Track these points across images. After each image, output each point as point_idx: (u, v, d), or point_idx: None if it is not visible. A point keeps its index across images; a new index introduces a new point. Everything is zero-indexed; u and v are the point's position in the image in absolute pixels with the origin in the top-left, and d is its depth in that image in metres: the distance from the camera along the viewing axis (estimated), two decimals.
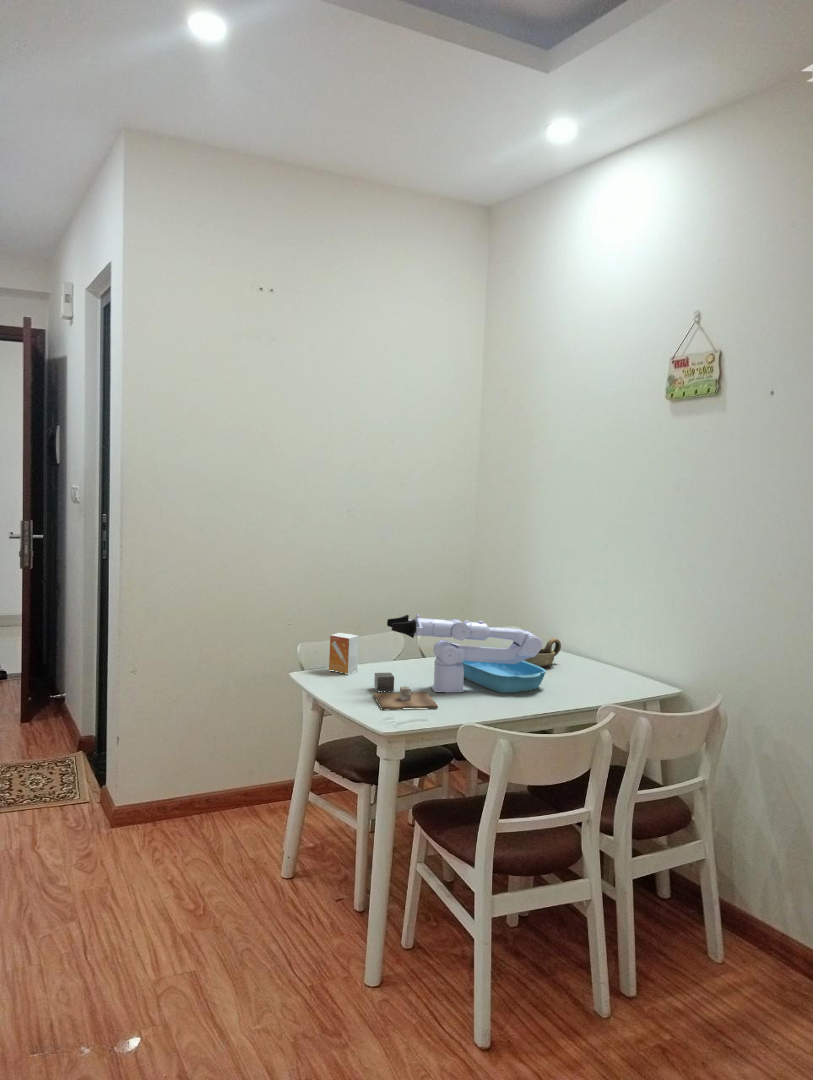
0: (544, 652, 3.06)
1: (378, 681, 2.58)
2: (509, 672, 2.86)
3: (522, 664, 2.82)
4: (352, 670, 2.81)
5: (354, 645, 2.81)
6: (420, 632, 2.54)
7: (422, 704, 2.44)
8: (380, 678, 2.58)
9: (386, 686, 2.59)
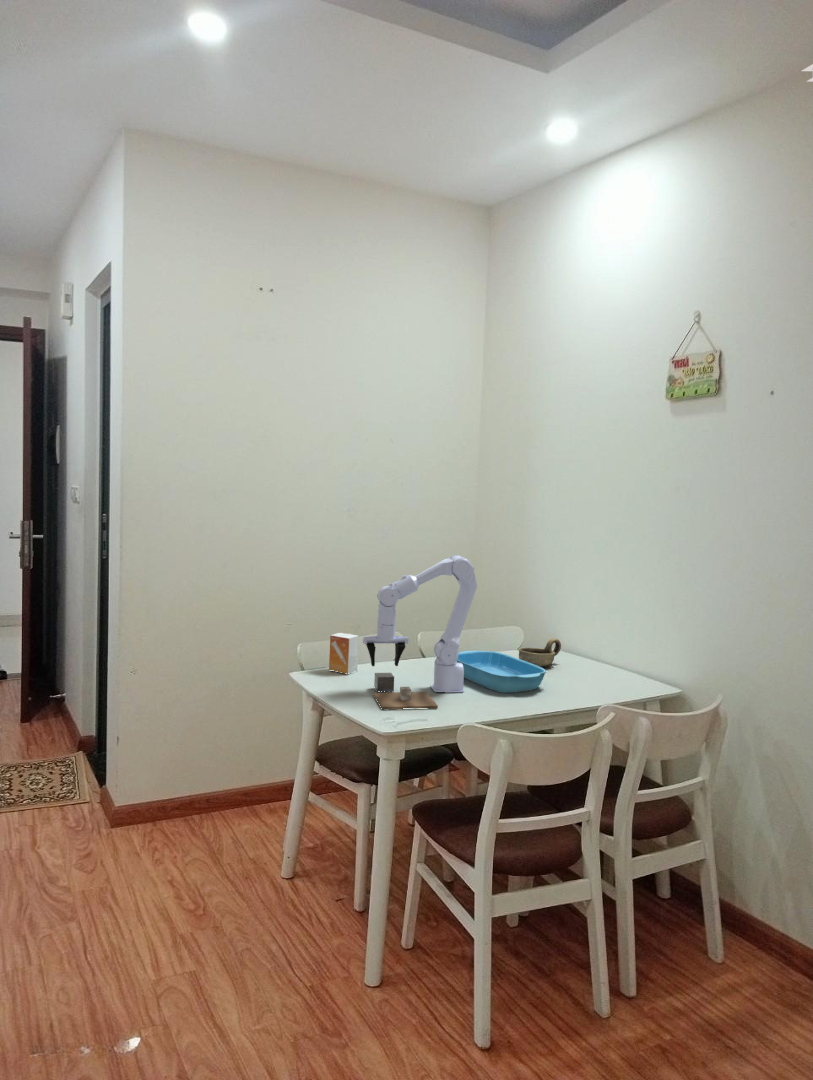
0: (544, 652, 3.06)
1: (378, 681, 2.58)
2: (509, 672, 2.86)
3: (522, 664, 2.82)
4: (352, 670, 2.81)
5: (354, 645, 2.81)
6: (363, 639, 2.58)
7: (422, 704, 2.44)
8: (380, 678, 2.58)
9: (386, 686, 2.59)
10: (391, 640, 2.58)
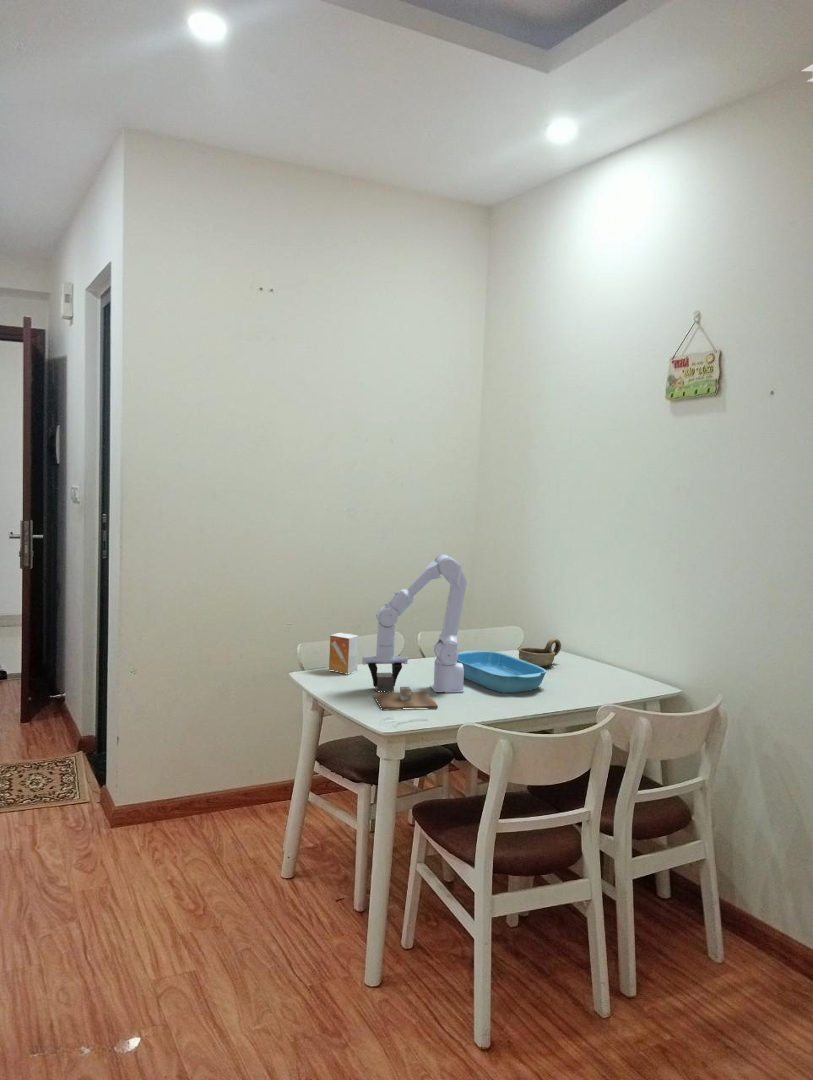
0: (544, 652, 3.06)
1: (378, 681, 2.58)
2: (509, 672, 2.86)
3: (522, 664, 2.82)
4: (352, 670, 2.81)
5: (354, 645, 2.81)
6: (363, 660, 2.59)
7: (422, 704, 2.44)
8: (380, 678, 2.58)
9: (386, 686, 2.59)
10: (390, 661, 2.58)
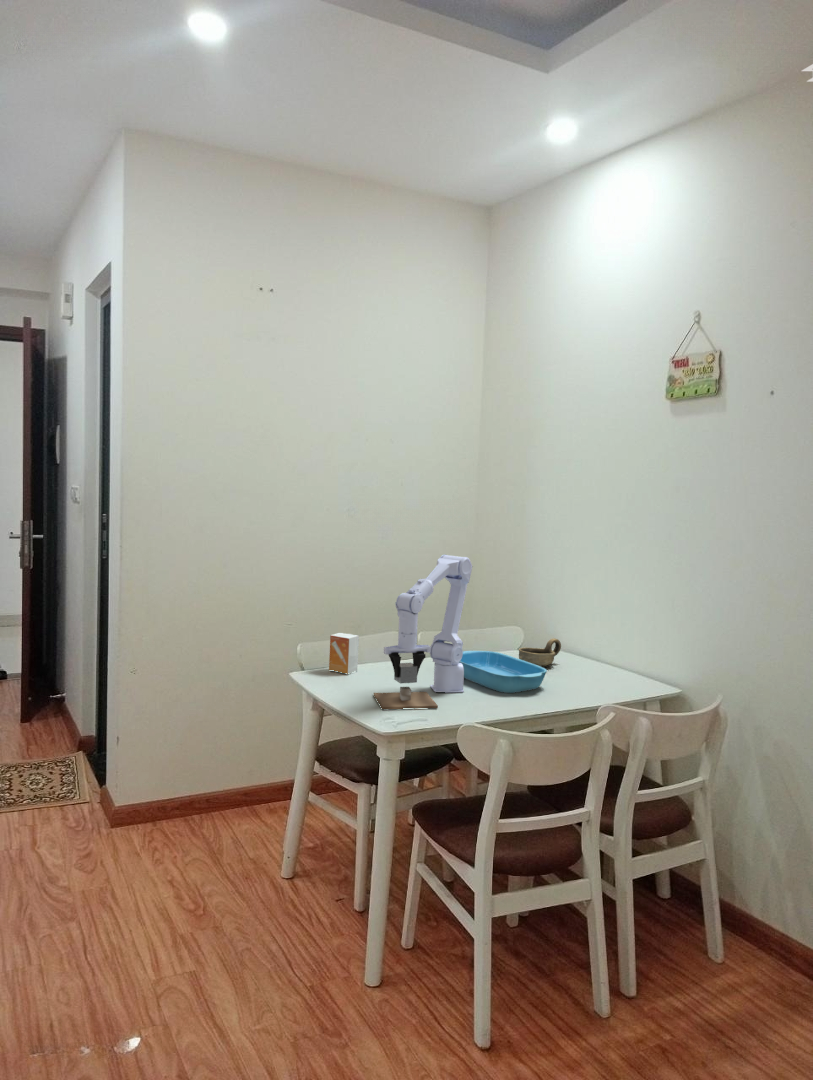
0: (544, 652, 3.06)
1: (401, 671, 2.45)
2: (508, 672, 2.86)
3: (521, 664, 2.83)
4: (352, 670, 2.81)
5: (354, 645, 2.81)
6: (385, 650, 2.44)
7: (422, 704, 2.44)
8: (403, 668, 2.45)
9: (409, 676, 2.46)
10: (414, 649, 2.45)
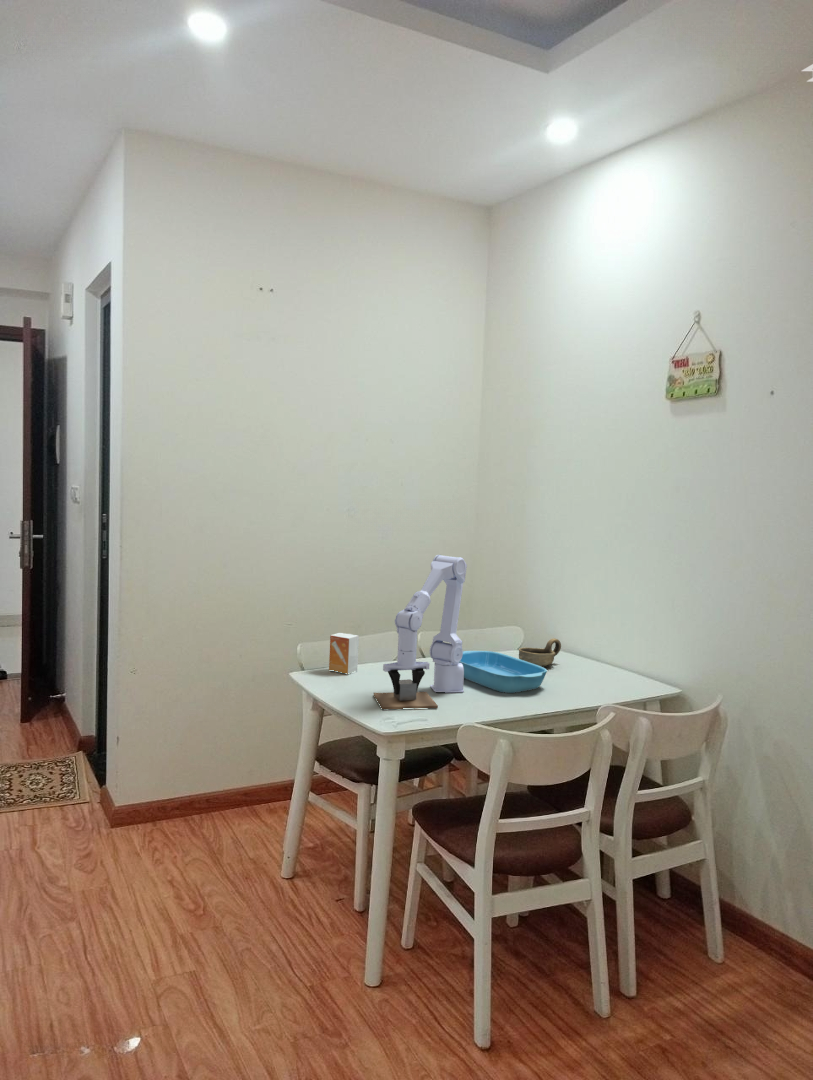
0: (544, 652, 3.06)
1: (401, 688, 2.45)
2: (508, 672, 2.86)
3: (521, 663, 2.83)
4: (352, 670, 2.81)
5: (354, 645, 2.81)
6: (384, 667, 2.45)
7: (422, 704, 2.44)
8: (403, 685, 2.46)
9: (409, 693, 2.46)
10: (413, 666, 2.46)
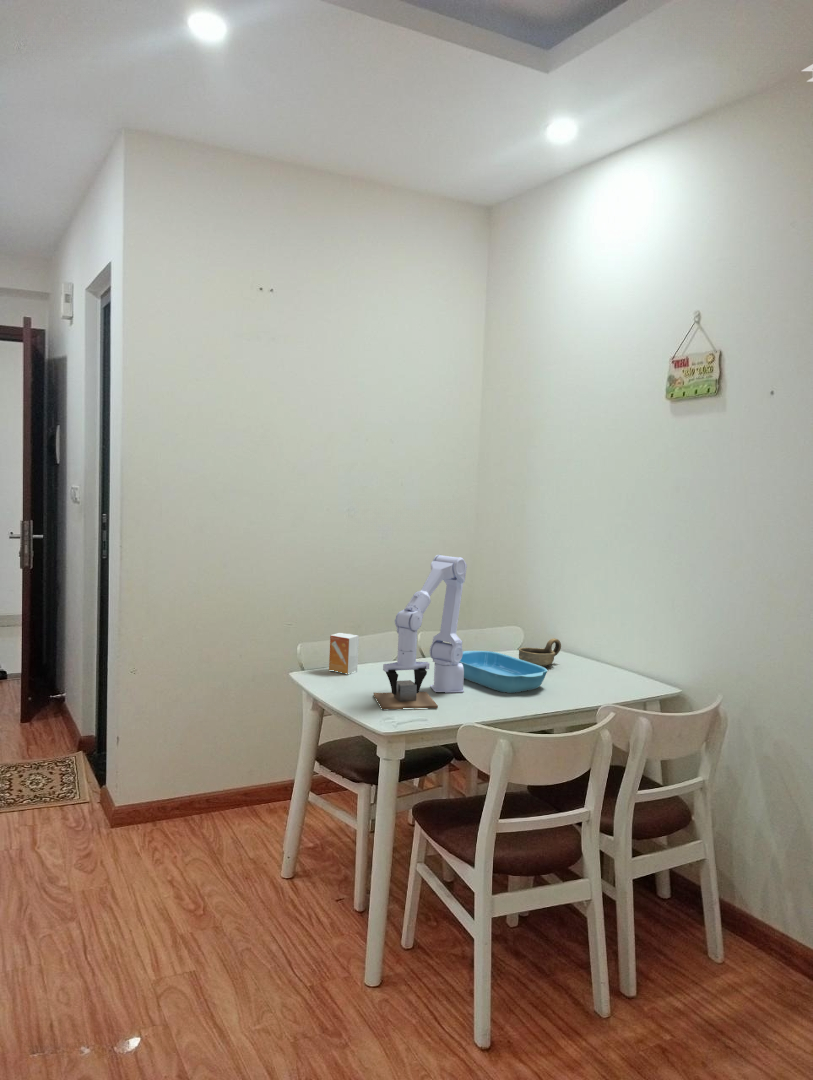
0: (544, 652, 3.06)
1: (401, 690, 2.45)
2: (507, 671, 2.87)
3: (521, 663, 2.83)
4: (352, 670, 2.81)
5: (354, 645, 2.81)
6: (384, 667, 2.45)
7: (422, 704, 2.44)
8: (403, 687, 2.46)
9: (409, 695, 2.46)
10: (413, 666, 2.46)
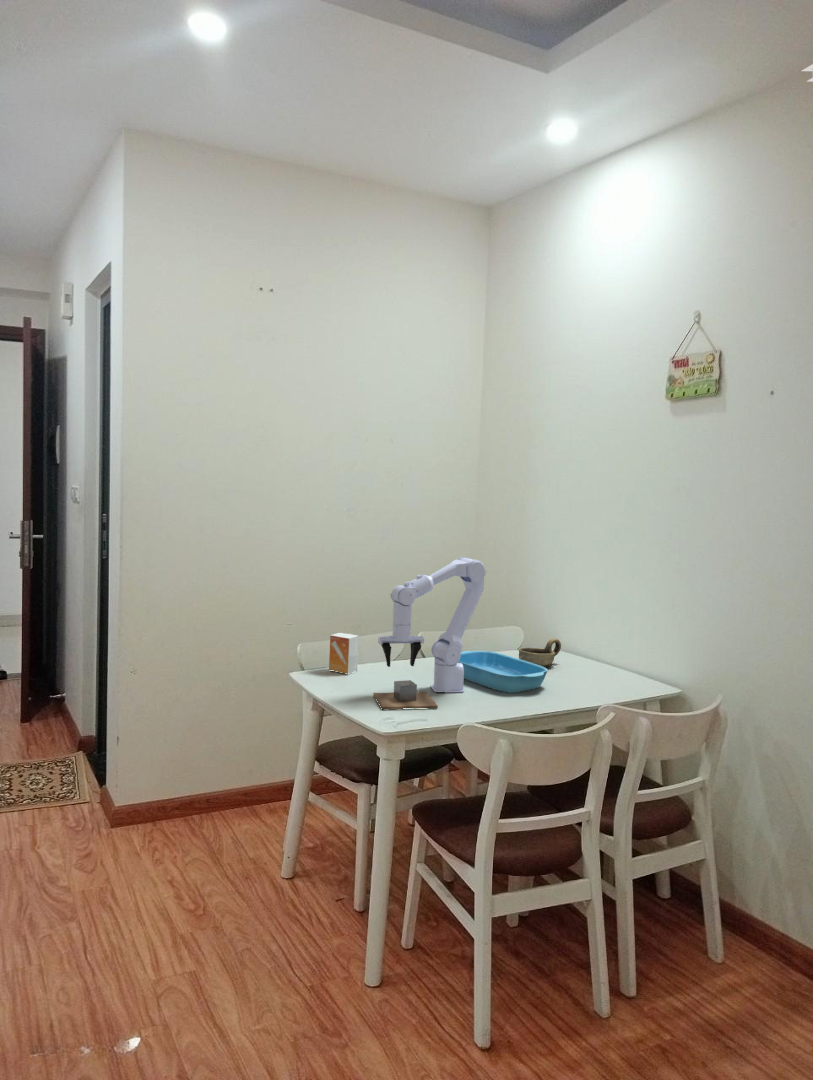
0: (544, 652, 3.06)
1: (401, 690, 2.45)
2: (506, 671, 2.87)
3: (520, 663, 2.83)
4: (352, 670, 2.81)
5: (354, 645, 2.81)
6: (379, 639, 2.54)
7: (422, 704, 2.44)
8: (403, 687, 2.46)
9: (409, 695, 2.46)
10: (407, 640, 2.54)
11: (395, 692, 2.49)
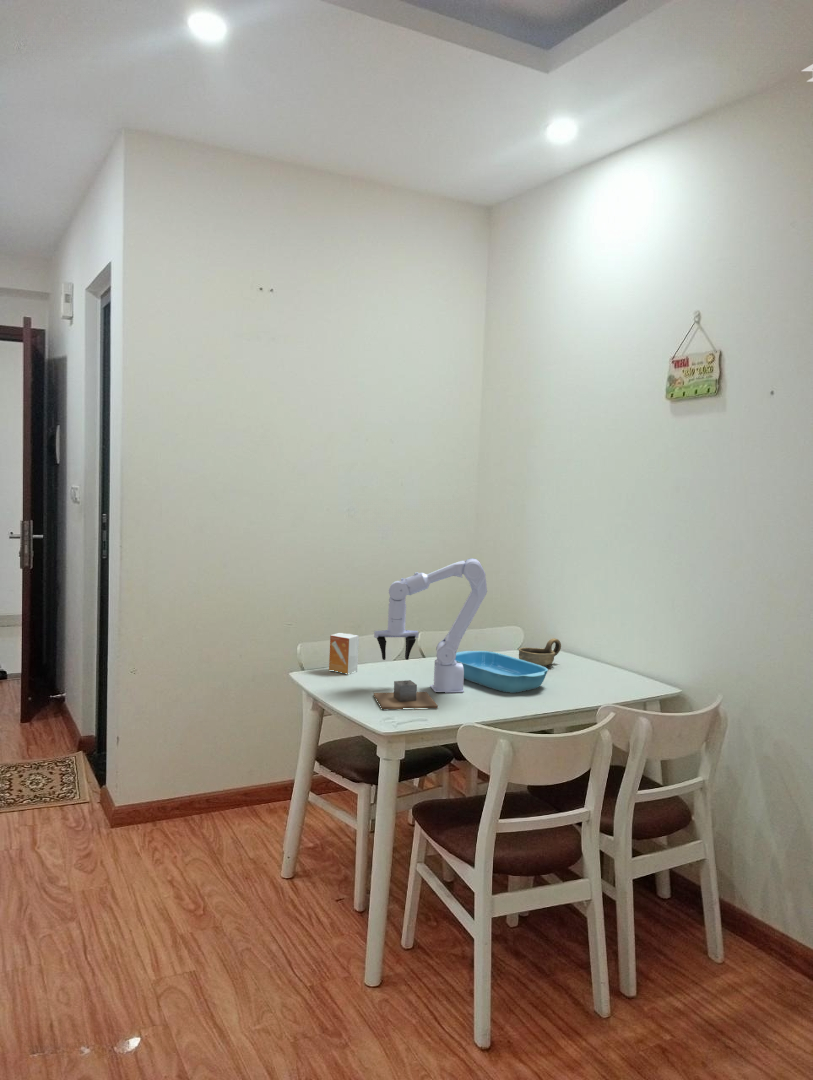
0: (544, 652, 3.06)
1: (401, 690, 2.45)
2: (505, 671, 2.87)
3: (519, 663, 2.84)
4: (352, 670, 2.81)
5: (354, 645, 2.81)
6: (374, 633, 2.62)
7: (422, 704, 2.44)
8: (403, 687, 2.46)
9: (409, 695, 2.46)
10: (402, 634, 2.61)
11: (395, 692, 2.49)
